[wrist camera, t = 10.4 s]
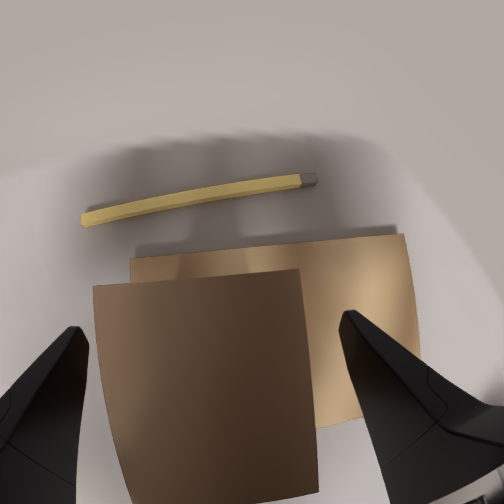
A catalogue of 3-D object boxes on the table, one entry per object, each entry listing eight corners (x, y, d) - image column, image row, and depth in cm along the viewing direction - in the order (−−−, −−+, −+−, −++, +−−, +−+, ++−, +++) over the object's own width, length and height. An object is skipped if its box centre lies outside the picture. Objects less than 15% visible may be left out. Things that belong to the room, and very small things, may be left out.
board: (156, 440, 14) (153, 446, 14) (133, 261, 17) (129, 258, 16) (415, 393, 16) (422, 395, 15) (397, 236, 19) (404, 233, 18)
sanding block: (183, 403, 14) (132, 504, 5) (171, 305, 16) (93, 286, 6) (265, 396, 15) (318, 492, 5) (254, 298, 16) (298, 268, 6)
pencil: (85, 227, 17) (81, 224, 16) (85, 217, 17) (80, 214, 16) (314, 186, 19) (317, 181, 18) (312, 176, 19) (314, 171, 18)
